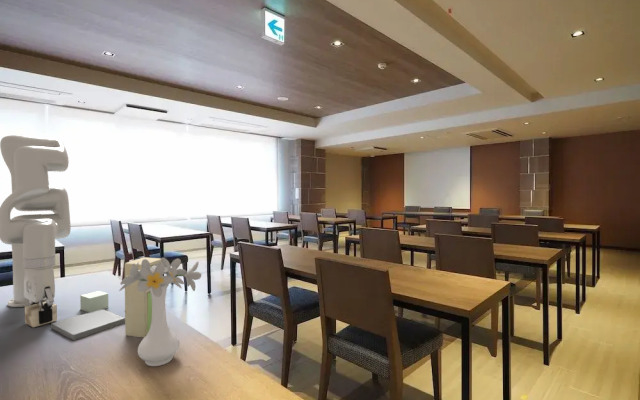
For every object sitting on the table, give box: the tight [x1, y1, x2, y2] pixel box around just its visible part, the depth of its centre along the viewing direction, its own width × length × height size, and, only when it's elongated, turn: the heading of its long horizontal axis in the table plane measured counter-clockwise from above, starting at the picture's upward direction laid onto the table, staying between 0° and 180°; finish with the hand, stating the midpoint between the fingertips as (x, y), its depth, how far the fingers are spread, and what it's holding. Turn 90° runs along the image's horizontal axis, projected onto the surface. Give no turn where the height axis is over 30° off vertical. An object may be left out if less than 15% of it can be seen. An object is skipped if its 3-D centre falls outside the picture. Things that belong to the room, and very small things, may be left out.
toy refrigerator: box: [124, 256, 164, 338], centre depth 98 cm, size 8×7×21 cm
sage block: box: [79, 290, 109, 313], centre depth 116 cm, size 6×6×5 cm
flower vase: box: [118, 257, 202, 367], centre depth 83 cm, size 13×18×25 cm
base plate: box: [50, 309, 125, 341], centre depth 102 cm, size 14×14×2 cm
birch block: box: [24, 302, 58, 328], centre depth 103 cm, size 6×6×5 cm
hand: (41, 319), depth 104 cm, fingers closed on birch block, 6 cm apart
